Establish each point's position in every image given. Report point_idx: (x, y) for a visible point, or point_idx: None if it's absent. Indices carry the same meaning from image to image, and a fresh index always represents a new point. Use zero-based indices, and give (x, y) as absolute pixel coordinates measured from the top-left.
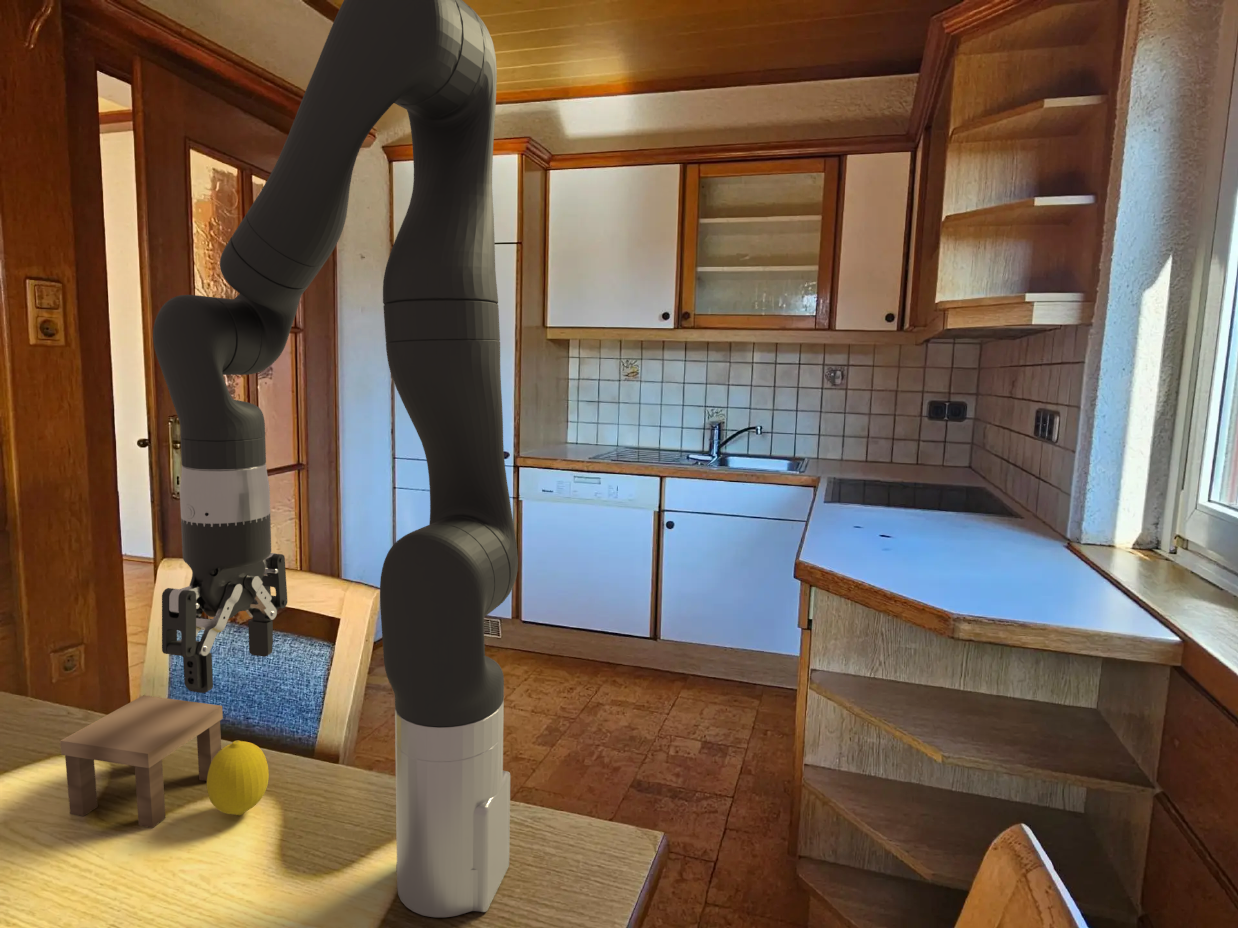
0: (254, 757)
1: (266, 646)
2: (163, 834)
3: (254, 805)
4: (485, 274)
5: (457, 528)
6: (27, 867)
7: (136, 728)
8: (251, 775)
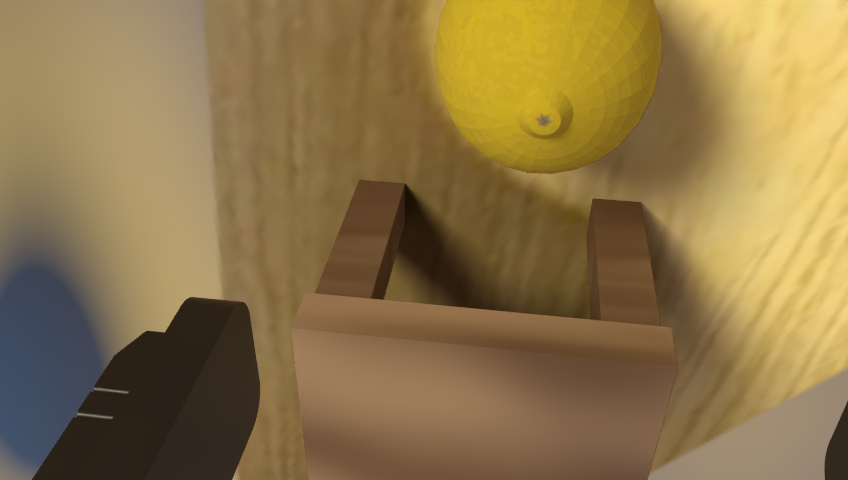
0: (558, 4)
1: (218, 355)
2: (667, 158)
3: None
4: None
5: None
6: (807, 361)
7: (514, 473)
8: None
